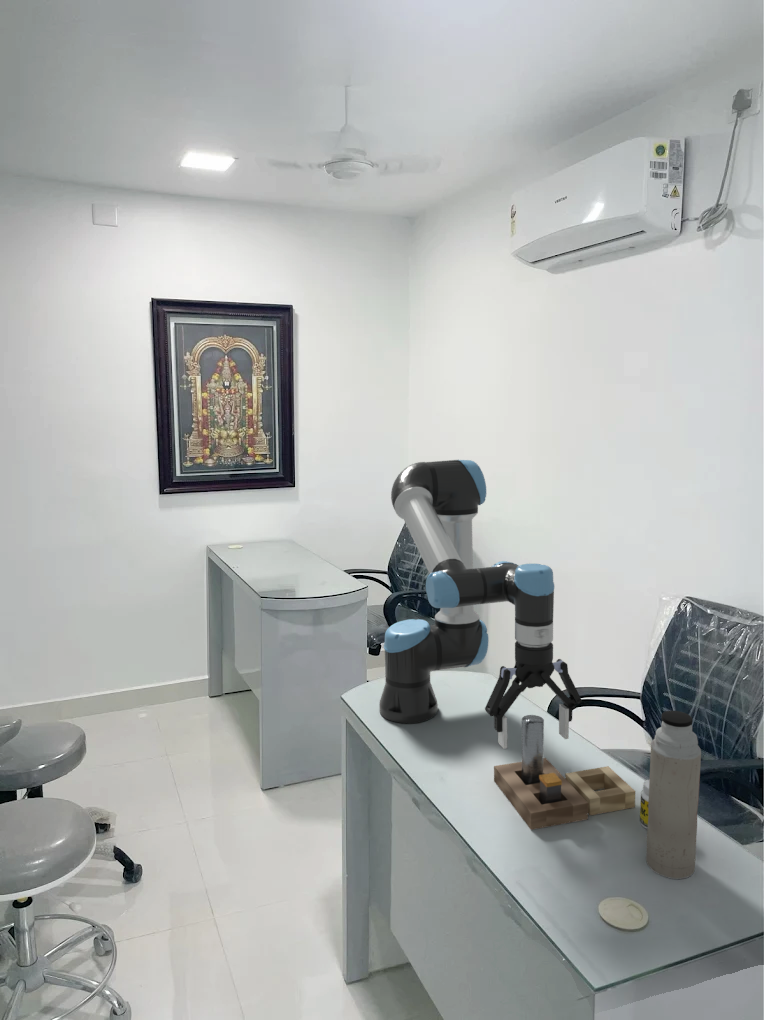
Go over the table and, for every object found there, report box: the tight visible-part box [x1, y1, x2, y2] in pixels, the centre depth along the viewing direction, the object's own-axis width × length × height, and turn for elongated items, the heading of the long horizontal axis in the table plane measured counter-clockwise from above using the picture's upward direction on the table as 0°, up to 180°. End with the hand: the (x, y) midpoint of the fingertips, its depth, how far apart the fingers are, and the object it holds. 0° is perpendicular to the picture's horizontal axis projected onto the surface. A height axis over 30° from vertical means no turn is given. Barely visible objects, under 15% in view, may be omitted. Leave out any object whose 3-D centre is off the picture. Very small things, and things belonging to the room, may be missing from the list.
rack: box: [564, 765, 636, 816], centre depth 150 cm, size 10×10×4 cm
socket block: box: [493, 757, 589, 831], centre depth 150 cm, size 18×12×4 cm, turn 14°
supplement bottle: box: [639, 778, 650, 830], centre depth 140 cm, size 5×5×8 cm
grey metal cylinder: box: [521, 714, 545, 785], centre depth 152 cm, size 4×4×16 cm
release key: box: [539, 773, 562, 805], centre depth 145 cm, size 3×3×7 cm
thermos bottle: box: [645, 710, 702, 880], centre depth 127 cm, size 8×8×28 cm
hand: (533, 740), depth 151 cm, fingers open, 13 cm apart
